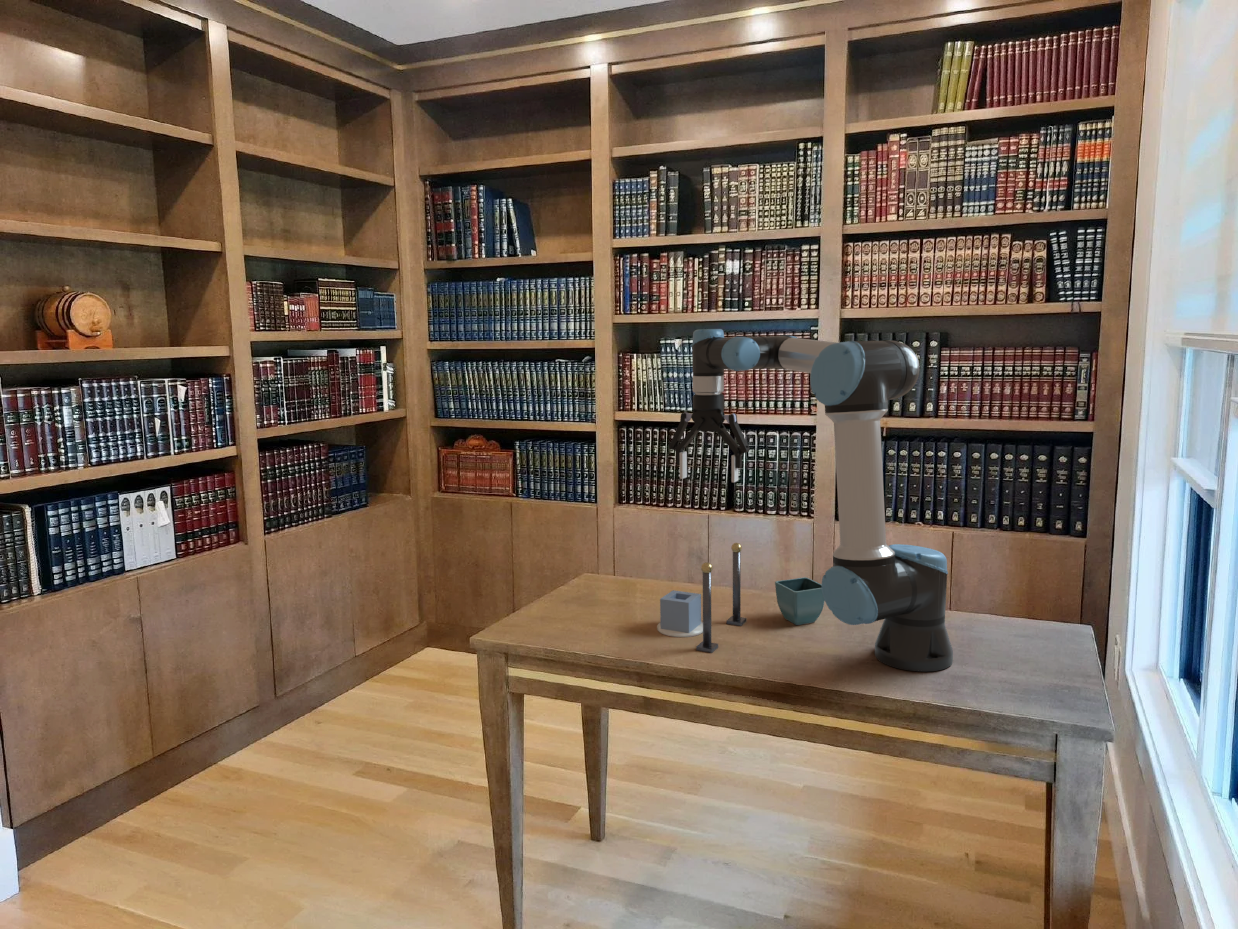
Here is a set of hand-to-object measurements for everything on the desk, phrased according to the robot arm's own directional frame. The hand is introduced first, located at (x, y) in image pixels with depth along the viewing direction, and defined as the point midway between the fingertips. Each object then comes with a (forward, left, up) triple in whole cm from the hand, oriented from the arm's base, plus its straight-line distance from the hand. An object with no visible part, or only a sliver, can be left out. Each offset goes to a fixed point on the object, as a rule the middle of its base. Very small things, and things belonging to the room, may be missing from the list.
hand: (708, 479), depth 209 cm
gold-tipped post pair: (-12, +22, -31) cm, 40 cm away
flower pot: (-25, +6, -31) cm, 40 cm away
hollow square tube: (-2, +22, -30) cm, 37 cm away
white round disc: (-2, +22, -31) cm, 38 cm away
